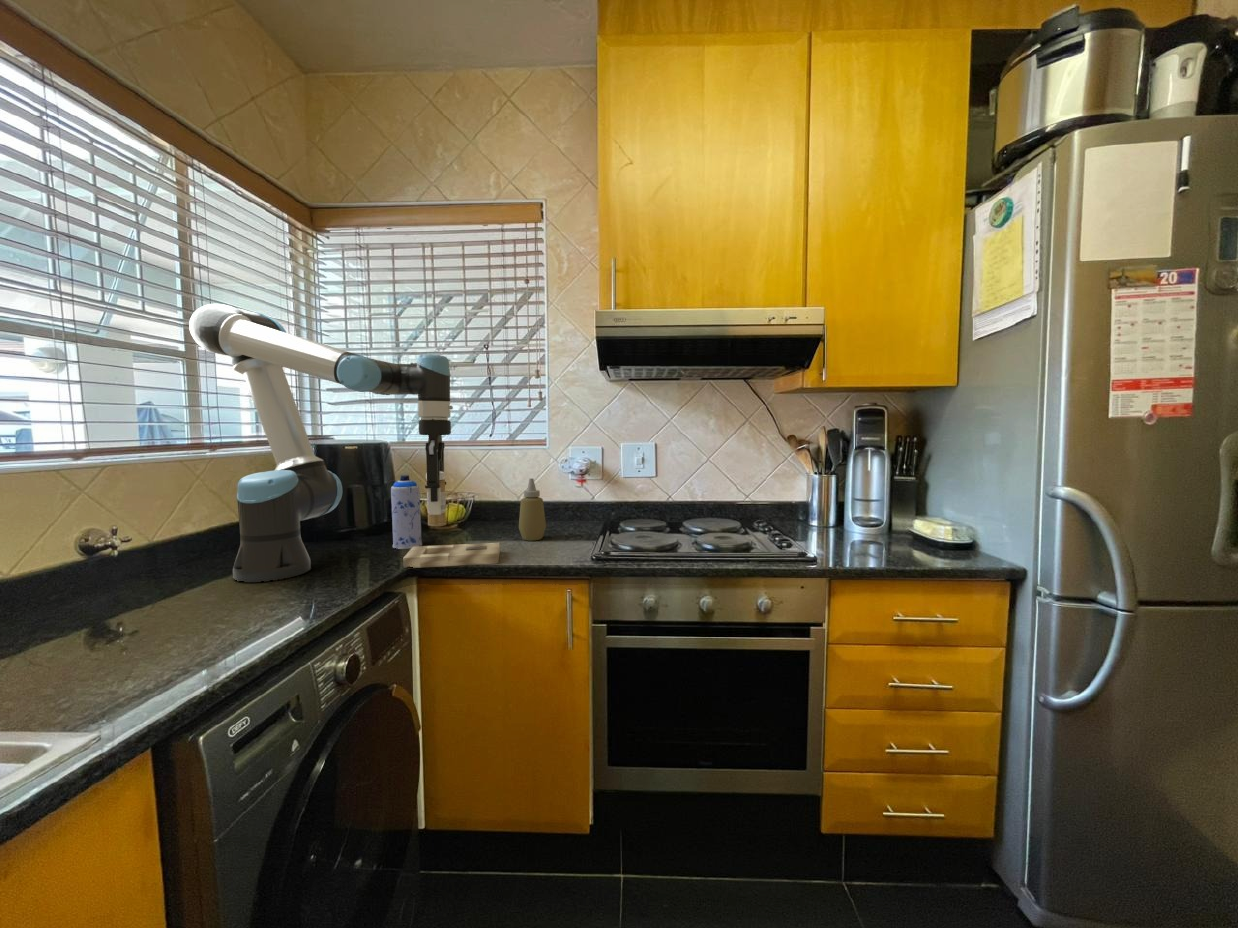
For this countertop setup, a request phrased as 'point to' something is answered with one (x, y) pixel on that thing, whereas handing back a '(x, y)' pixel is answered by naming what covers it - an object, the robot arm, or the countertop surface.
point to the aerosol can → (406, 513)
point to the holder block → (452, 555)
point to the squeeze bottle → (532, 514)
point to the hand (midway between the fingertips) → (436, 512)
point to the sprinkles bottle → (441, 519)
